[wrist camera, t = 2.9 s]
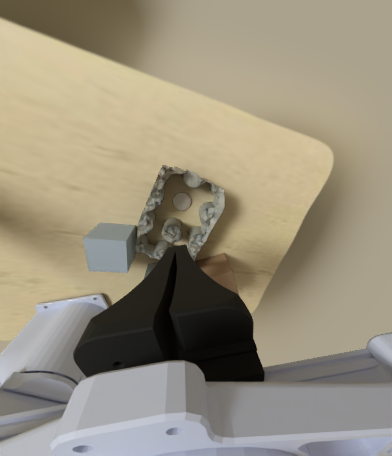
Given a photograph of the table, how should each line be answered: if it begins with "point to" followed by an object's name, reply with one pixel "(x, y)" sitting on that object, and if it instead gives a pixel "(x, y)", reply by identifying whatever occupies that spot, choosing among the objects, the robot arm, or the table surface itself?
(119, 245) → the slate-blue block
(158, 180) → the egg carton
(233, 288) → the walnut block
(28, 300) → the table surface
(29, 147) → the table surface
